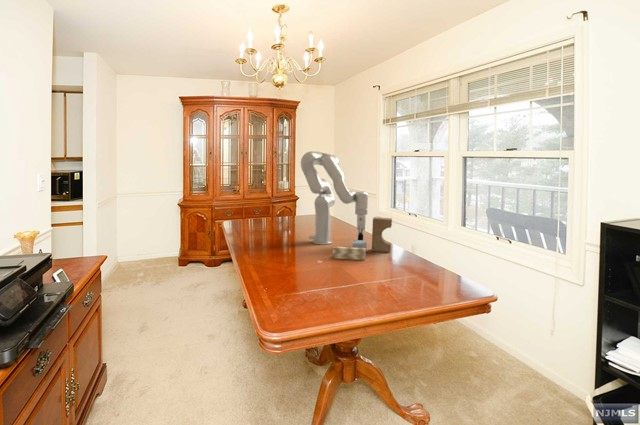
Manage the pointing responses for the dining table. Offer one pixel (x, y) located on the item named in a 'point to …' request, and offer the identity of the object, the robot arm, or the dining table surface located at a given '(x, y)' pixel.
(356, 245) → the block
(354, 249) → the board
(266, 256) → the dining table surface
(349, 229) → the dining table surface
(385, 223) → the decorative block
